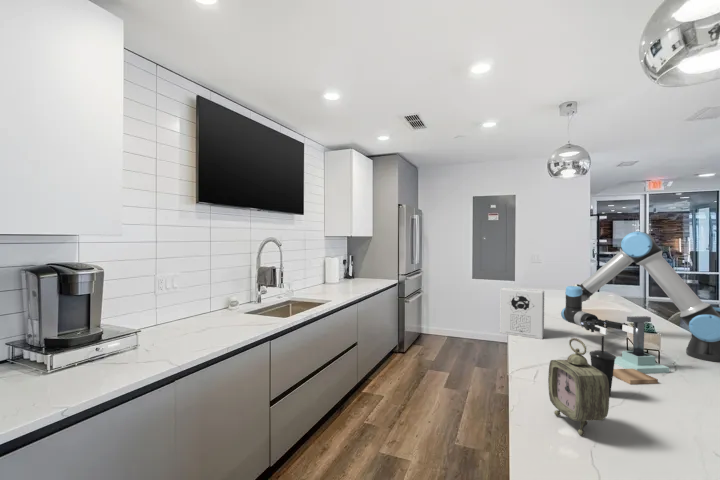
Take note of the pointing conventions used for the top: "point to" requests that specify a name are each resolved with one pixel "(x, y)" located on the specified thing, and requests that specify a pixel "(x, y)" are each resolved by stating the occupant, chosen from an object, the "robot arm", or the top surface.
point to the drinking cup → (603, 362)
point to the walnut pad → (633, 376)
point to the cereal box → (522, 312)
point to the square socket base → (640, 363)
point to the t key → (638, 333)
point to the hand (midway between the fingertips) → (620, 331)
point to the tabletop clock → (578, 388)
